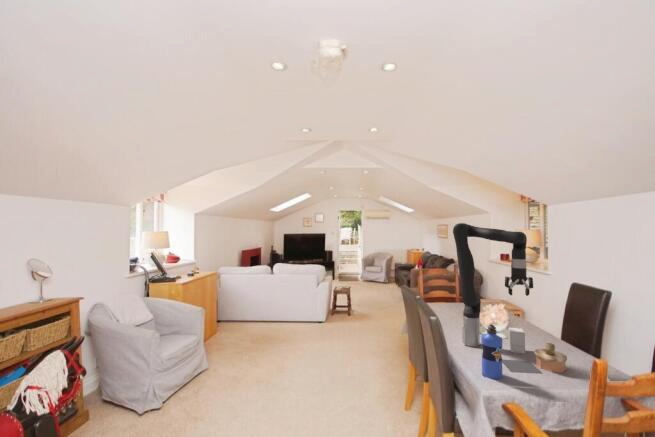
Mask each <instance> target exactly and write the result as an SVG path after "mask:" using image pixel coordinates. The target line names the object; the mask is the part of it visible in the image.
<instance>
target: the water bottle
mask: <svg viewBox="0 0 655 437" xmlns="http://www.w3.org/2000/svg"><path fill="white" fill-rule="evenodd" d="M486 332H487V333H485V334H482V335H481V336H480V338H481V342H480V343H481V346H482V354H481V375H482V376H483V377H484V378H488V379H491V380H501V379H503V363H502V360H503V357H502V350H503V338H502V336H500V335H498V334H497V332H498V331H497V327H496V326H495V325H494V324H489V325H487V329H486Z"/></svg>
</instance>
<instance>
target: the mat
mask: <svg viewBox="0 0 655 437" xmlns="http://www.w3.org/2000/svg"><path fill="white" fill-rule="evenodd" d="M502 365H504V366H505V367H506V368H507V370H509V372H510V373H522V374H523V373H524V374H525V373H526V374H541V375H542V374H544V373H543V372H542V371H541V369H540V368H538V367H536V366H535V365H534V364H533V363H532V362H531V361H530V360H520V359H519V360H518V359H502Z"/></svg>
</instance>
